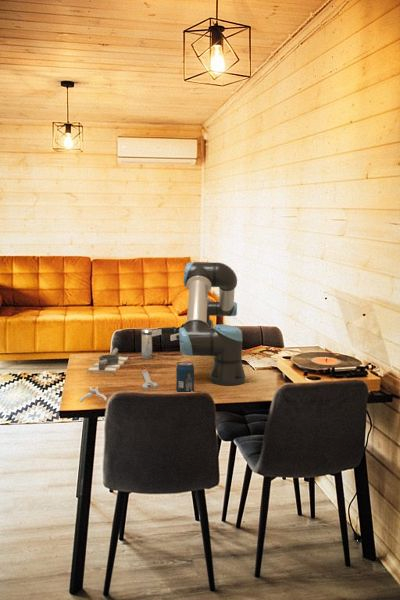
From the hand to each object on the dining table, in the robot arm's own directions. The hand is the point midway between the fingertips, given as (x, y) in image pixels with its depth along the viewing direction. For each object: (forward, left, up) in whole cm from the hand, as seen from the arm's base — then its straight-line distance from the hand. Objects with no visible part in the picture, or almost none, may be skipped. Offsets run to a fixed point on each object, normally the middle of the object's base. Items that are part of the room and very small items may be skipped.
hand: (161, 335), depth 286 cm
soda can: (-60, -22, -9) cm, 65 cm away
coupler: (-8, +5, -9) cm, 14 cm away
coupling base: (-25, +19, -9) cm, 33 cm away
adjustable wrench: (-47, -4, -10) cm, 48 cm away
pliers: (-69, +13, -10) cm, 71 cm away
